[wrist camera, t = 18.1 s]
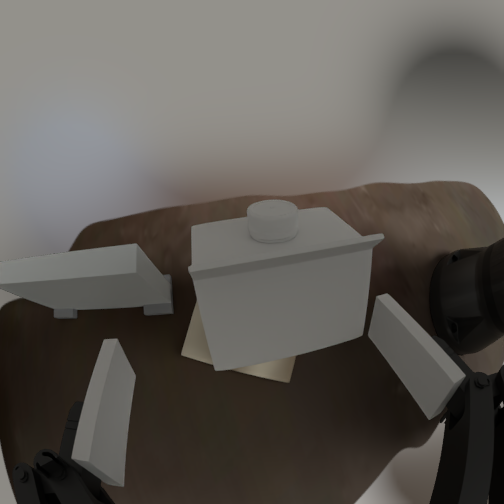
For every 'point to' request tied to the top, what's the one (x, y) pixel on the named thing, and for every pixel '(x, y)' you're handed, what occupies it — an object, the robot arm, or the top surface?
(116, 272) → the grey screen
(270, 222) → the milk carton
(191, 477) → the top surface
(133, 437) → the top surface
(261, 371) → the birch board
